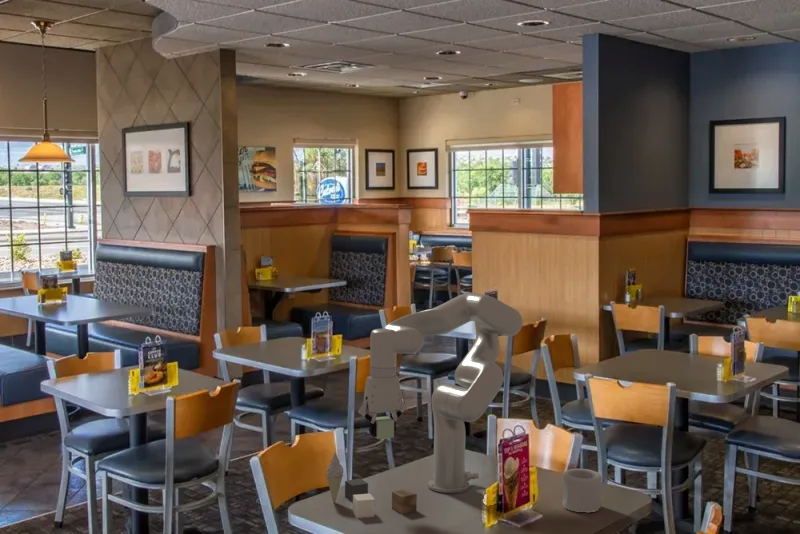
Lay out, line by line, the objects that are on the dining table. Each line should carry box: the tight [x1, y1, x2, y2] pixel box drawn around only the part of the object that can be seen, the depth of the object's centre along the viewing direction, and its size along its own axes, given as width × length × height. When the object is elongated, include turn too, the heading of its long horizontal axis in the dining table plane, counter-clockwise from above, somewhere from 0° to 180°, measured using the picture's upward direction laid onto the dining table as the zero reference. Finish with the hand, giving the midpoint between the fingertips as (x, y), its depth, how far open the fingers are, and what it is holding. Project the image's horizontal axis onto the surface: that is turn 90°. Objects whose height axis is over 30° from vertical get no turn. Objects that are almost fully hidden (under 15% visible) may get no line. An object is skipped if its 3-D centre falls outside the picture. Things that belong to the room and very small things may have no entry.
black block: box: [344, 478, 369, 503], centre depth 261 cm, size 5×5×5 cm
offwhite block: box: [352, 493, 376, 519], centre depth 248 cm, size 5×5×5 cm
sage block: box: [374, 415, 395, 440], centre depth 255 cm, size 5×5×5 cm
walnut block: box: [391, 488, 418, 515], centre depth 252 cm, size 5×5×5 cm
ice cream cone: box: [325, 451, 344, 504], centre depth 256 cm, size 5×5×15 cm
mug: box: [561, 468, 602, 512], centre depth 257 cm, size 14×11×10 cm
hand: (382, 434), depth 255 cm, fingers closed on sage block, 5 cm apart
